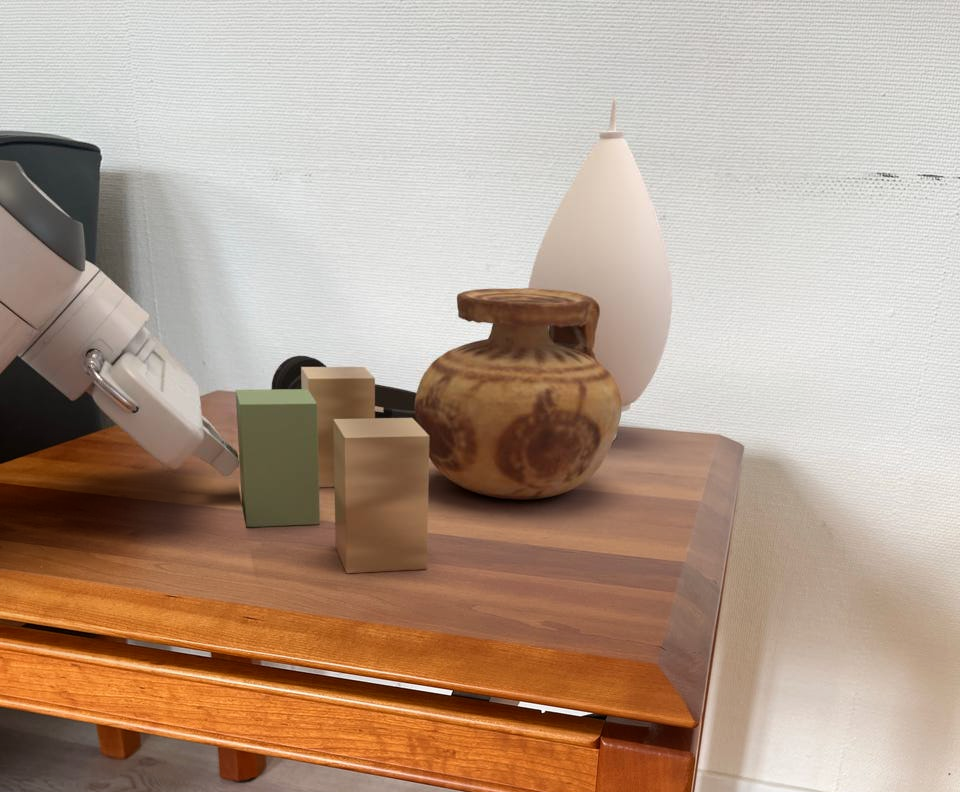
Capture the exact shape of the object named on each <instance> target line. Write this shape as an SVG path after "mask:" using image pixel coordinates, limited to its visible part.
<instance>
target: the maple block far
mask: <svg viewBox="0 0 960 792" xmlns="http://www.w3.org/2000/svg"><path fill="white" fill-rule="evenodd" d="M301 383H302V389H308V390H309V391H310V393H311V395H312V396H313V398H314V400H315V401H316V403H317V422H318V465H319V488H334V435H333V419H369V418H375V411H376V406H375V384H376V377H374V375H372V373H371V372H370V371H369V370H368V369H367V368H366V367H365V366H327V367H301Z"/></svg>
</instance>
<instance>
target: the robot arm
mask: <svg viewBox="0 0 960 792" xmlns="http://www.w3.org/2000/svg"><path fill="white" fill-rule="evenodd" d="M85 242H86V241H85V232H84V224H83V223H82V222H80V221H78V220H75V219H73V218H72V217H71V216H70V215H68V213H66V212H65V210H63V209H62V208H61V207H60V206H59V205H58V204H57V203H56V202H55V201H54V200H53V199H51V198H50V197H49V195H47V194H46V193H45V192H44V191H43V190H42V189H41V188H40V187H39V186H38V185H37V184H36V183H34V182H33V180H31V179H30V178H29V177H28V175H27V174H26V171H25V170H24V168H23V167H22V165H20V163H19V162H18V161H15V160H4V159H0V375H1V374H2V373H3V372H4V370H6V368H7V367H8V366H9V365H10V364H11V363H12V362H13V361H14V359H15V358H16V357H17V356H18V358H20V359H21V360H22V361H23V362H24V363H26V364H27V365H28V366H29V367H31V368H32V369H33V370H34V371H36V372H37V373H38V374H39V375H40V376H41V377H43V378H44V379H45V380H46V381H47V382H48V383H50V384H51V385H52V386H53V387H54V388H56V389H57V390H58V391H59V392H60V393H62V394H63V395H64V396H65V397H66V398H68V399H69V400H70V401H71V402H73V401H76V400H78V398H80V397H81V396H82V395H83V394H85V392H86V393H87V394H89V396H90V397H92V400H93V401H94V403H95V404H96V405H97V407H99V409H100V410H101V411H102V412H103V413H104V415H106V416H107V417H108V418H109V419H110V420H111V421H112V422H113V423H114V424H115V425H117V427H119V428H120V429H121V430H122V431H123V432H124V433H125V434H126V435H127V436H129V437H130V438H131V439H132V440H133V441H134V442H135V443H136V444H137V445H138V446H140V447H141V448H142V450H143V451H145V452H146V453H147V454H148V455H150V457H152V458H153V459H154V460H155V461H157V462H158V463H159V464H161V465H162V466H163V467H166V468H167V469H170V470H171V471H173V470H174V471H175V470H178V468H180V467H181V465H182V464H184V463H185V461H187V460H188V458H190V457H191V455H193V456H195V457H196V458H198V459H200V460H202V461H203V462H205V463H207V464H209V465H210V466H212V468H214V469H215V470H216V471H217V472H218V473H220V475H222V476H224V477H228V476H231V475H232V474H233V473H234V472H235V470H237V469H238V468H239V467H240V462H239V453H238V451H237V449H235V448H234V447H233V446H232V445H231V444H229V442H227V441H226V440H225V439H224V437H223V436H222V435H221V434H220V433H219V431H218V430H217V429H216V427H214V425H212V423H211V422H210V421H209V420H208V419H207V418H206V417H205V416H204V415H203V412H202V403H201V402H202V401H201V393H200V391H201V390H200V387H199V385H198V384H197V383H196V381H195V380H194V378H193V377H192V376H191V375H190V373H189V372H188V371H187V370H186V369H185V368H184V367H183V366H182V364H181V363H180V362H179V361H178V360H177V359H176V358H175V357H174V356H173V355H172V354H171V352H170V351H169V350H168V349H167V348H166V347H165V346H164V345H163V344H162V343H161V341H160V340H159V339H157V337H156V336H154V334H152V332H151V331H150V330H148V328H146V327H145V326H146V324H147V323H148V321H149V319H150V314H148V312H147V311H145V310H144V309H143V308H142V307H141V306H140V305H139V304H138V303H137V302H136V301H134V300H133V298H131V297H130V296H129V294H127V293H126V292H125V291H124V290H123V289H121V287H120V286H118V285H117V283H115V282H114V281H113V280H112V279H111V278H110V277H109V276H107V275H106V273H104V272H103V271H102V270H101V269H100V268H99V267H97V265H95V264H93V263H92V262H90V261H88V260H86V243H85Z"/></svg>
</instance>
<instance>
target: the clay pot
mask: <svg viewBox="0 0 960 792" xmlns="http://www.w3.org/2000/svg"><path fill="white" fill-rule="evenodd" d="M456 306H457V316H458V318H459V319H462V320H464V321H467V322H468V323H469V322H474V323H477V324H480V323H481V324H482V323H486V324H491V325H492V326H491V328H490V329H491V330H490V333H489V336H488V338H486V339H480V340H477V341H472V342H469V343H465V344H462V345H459V346H457V347H455V348H452V349H449V350H448V351H445V352H444V353H443V354H441V355H439V357H437V358H436V359H435V360H433V361H432V363H431V364H430V365H429V366H428V368H427V369H426V370H425V371H424V373H423V375H422V376H421V379H420V381H419V384H418V387H417V390H416V398H415V417H416V422H417V423H418V424H419V425H420V426H421V428H422V429H423V430H424V431H425V432H426V433H427V434H428V435H429V461H430V462H431V463H432V465H433V466H434V467H435V468H436V469H437V470H438V471H439V472H440V473H441V474H442V475H443V476H444V477H445V478H447V479H448V480H449V481H451V482H452V483H454V484H456V485H457V486H459V487H461V488H462V489H464V490H467V491H470V492H472V493H476V494H479V495H483V496H487V497H491V498H497V499H503V500H519V501H520V500H521V501H522V500H538V499H545V498H551V497H554V496H555V497H556V496H558V495H559V496H560V495H562V494H565V493H568V492H569V491H572V490H574V489H576V488H577V487H579V486H581V485H582V484H583V483H585V482H586V481H587V480H589V479H590V478H592V477H593V475H594V474H595V473H596V472H598V470H599V468H600V467H601V465H602V464H603V462H604V461H605V459H606V458H607V455H608V452H609V450H610V449H611V446H612V444H613V442H614V441H613V440H614V437H615V435H617V432H618V429H619V425H620V422H621V419H622V412H621V411H622V400H621V394H620V391H619V388H618V386H617V384H616V381H615V380H614V378H613V377H612V375H611V374H610V373H609V372H608V371H607V370H606V369H605V368H604V367H603V366H602V365H601V364H600V363H599V362H597V360H596V358H595V354H594V352H593V347H594V343H595V332H596V328H597V323H598V319H599V316H600V307H599V304H598V303H597V302H596V301H595V300H594V299H592V298H591V297H588V296H585V295H581V294H578V293H573V292H567V291H557V290H546V289H534V288H528V287H524V288H515V287H514V288H482V289H481V288H480V289H479V288H478V289H471V290H466V291H462V292H460V293H457V295H456ZM548 326H549V331H548Z"/></svg>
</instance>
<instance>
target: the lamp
mask: <svg viewBox="0 0 960 792" xmlns="http://www.w3.org/2000/svg"><path fill="white" fill-rule="evenodd" d="M617 102H618V101H617V98H616V97H614V98H613V100H612V105H611V112H610V118H609V125H608V131H606V130H605V131H599V136H598V137H599V139H598V140H597V142H596V144H595V145H594V146H593V148H592V149H591V151H590V153H589V154H588V156H587V157H586V160H584V162H583V164H582V165H581V167H580V169H579V171H578V172H577V173H576V175H575V177H574V178H573V180H572V182H571V183H570V185H569V186H568V189H567V191H566V193H565V194H564V196H563V198H562V199H561V201H560V203H559V205H558V207H557V208H556V211H555V213H554V214H553V216H552V218H551V220H550V223H549V225H548V227H547V229H546V232H545V234H544V235H543V238H542V241H541V244H540V245H539V248H538V250H537V253H536V256H535V258H534V259H535V260H534V263H533V266H532V269H531V273H530V277H529V283H528V287H527V288H534V289H546V290H557V291H567V292H573V293H578V294H581V295H585V296H588V297H591V298H592V299H594V300H595V301H596V302H597V303H598V304H599V307H600V316H599V319H598V323H597V328H596V332H595V343H594V347H593V352H594V354H595V358H596V360H597V362H599V363H600V364H601V365H602V366H603V367H604V368H605V369H606V370H607V371H608V372H609V373H610V374H611V375H612V377H613V378H614V380H615V381H616V384H617V386H618V388H619V391H620V394H621V400H622V411H621V413H623V412H627V411H629V410H630V409H631V404H633V403H635V402H636V401H638V399H639V398H640V397H641V396H642V395H643V393H644V392H645V391H646V389H647V388H648V386H649V385H650V383H651V381H652V379H653V377H654V375H655V373H656V372H657V369H658V367H659V365H660V362H661V360H662V357H663V355H664V352H665V348H666V345H667V342H668V337H669V333H670V327H671V320H672V313H673V284H672V283H673V281H672V272H671V265H670V260H669V254H668V250H667V245H666V242H665V239H664V238H665V237H664V235H663V230H662V228H661V224H660V222H659V218H658V214H657V211H656V209H655V207H654V204H653V202H652V199H651V196H650V193H649V191H648V188H647V186H646V183H645V181H644V178H643V176H642V173H641V171H640V169H639V168H638V167H639V166H638V165H637V162H636V160H635V157H634V155H633V152H632V151H631V149H630V147H629V144H628V142H627V141H626V139H625V138H624V135H625V133H626V131H617V106H618V105H617ZM548 331H549V326H548ZM616 435H617V434H616ZM616 435H615V436H616Z"/></svg>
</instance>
